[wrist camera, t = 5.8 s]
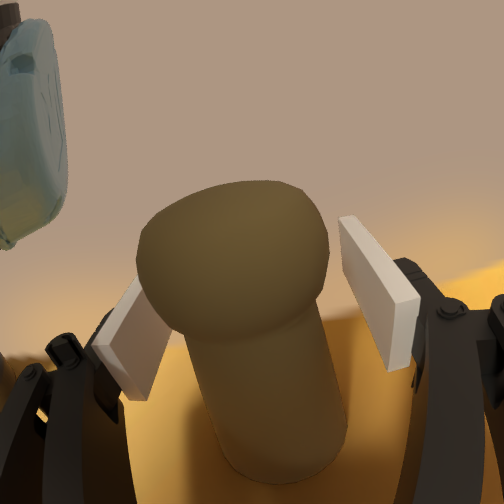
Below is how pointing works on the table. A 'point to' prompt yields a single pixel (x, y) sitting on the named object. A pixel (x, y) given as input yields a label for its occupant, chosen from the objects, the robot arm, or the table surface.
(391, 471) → the table surface
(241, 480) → the table surface
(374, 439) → the table surface
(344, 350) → the table surface
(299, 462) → the cork
